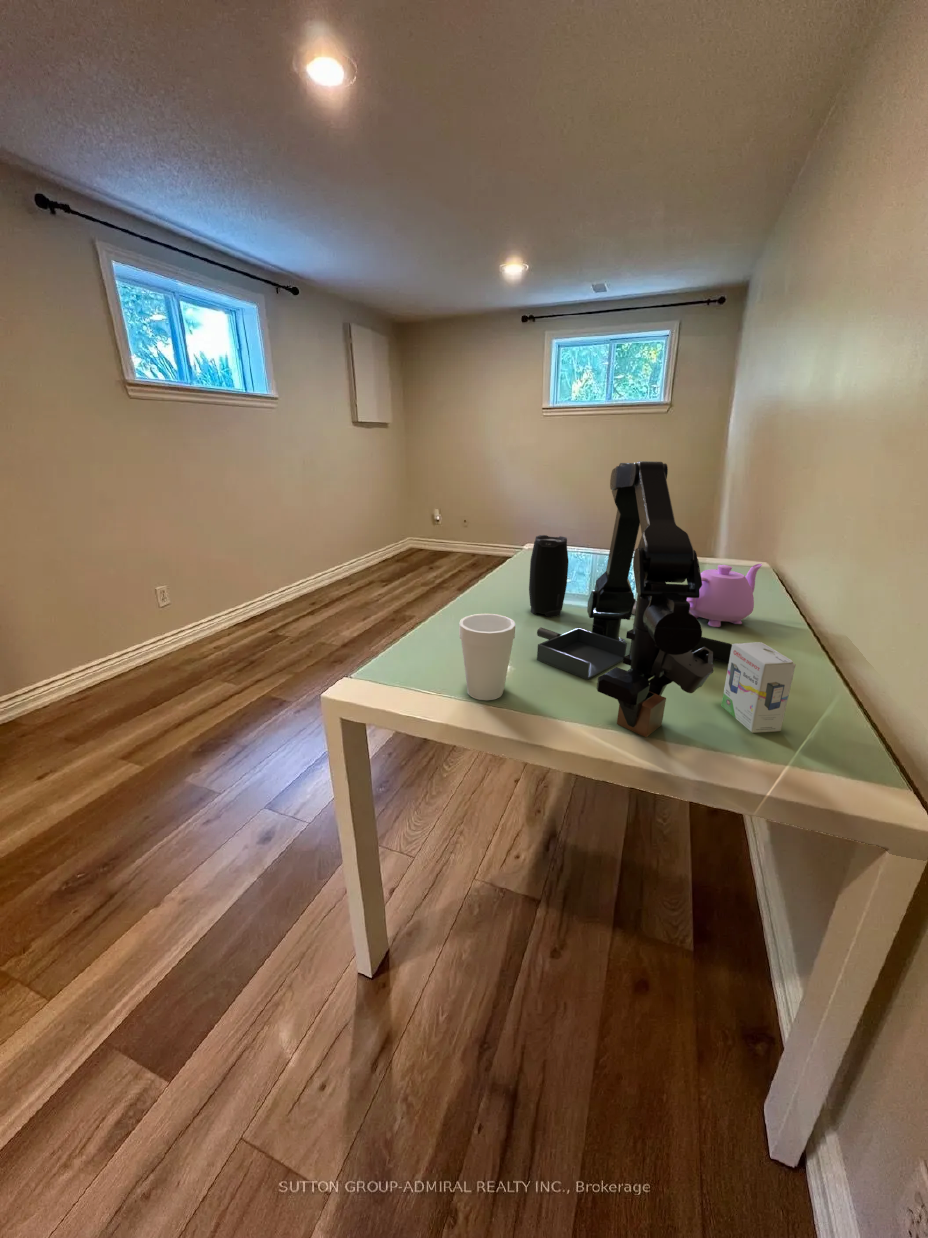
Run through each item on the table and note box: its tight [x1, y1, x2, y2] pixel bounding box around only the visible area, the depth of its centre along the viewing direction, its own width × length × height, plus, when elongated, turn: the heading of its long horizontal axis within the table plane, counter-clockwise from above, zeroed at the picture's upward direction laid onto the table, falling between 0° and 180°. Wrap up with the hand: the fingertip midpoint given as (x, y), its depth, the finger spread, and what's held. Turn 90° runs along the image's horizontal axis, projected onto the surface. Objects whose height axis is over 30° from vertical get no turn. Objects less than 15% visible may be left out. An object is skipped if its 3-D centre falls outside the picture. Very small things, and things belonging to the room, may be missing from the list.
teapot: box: [687, 563, 763, 628], centre depth 122 cm, size 22×16×14 cm
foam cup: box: [458, 613, 516, 701], centre depth 85 cm, size 10×9×13 cm
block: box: [616, 692, 667, 738], centre depth 76 cm, size 5×5×5 cm
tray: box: [536, 627, 628, 681], centre depth 101 cm, size 14×17×4 cm
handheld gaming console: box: [691, 636, 733, 665], centre depth 101 cm, size 12×7×10 cm
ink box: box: [720, 641, 797, 734], centre depth 77 cm, size 9×5×12 cm, turn 5°
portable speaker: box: [528, 534, 569, 618], centre depth 123 cm, size 9×9×20 cm
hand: (639, 719), depth 77 cm, fingers closed on block, 5 cm apart
